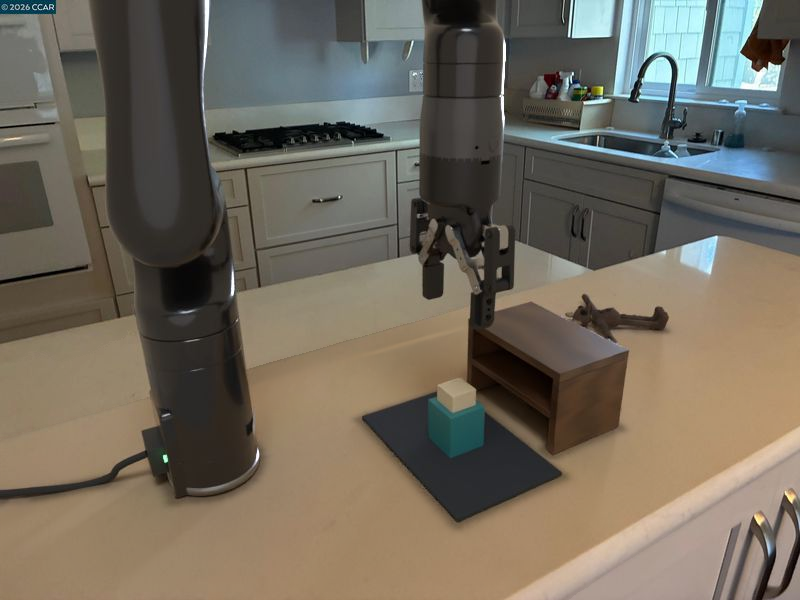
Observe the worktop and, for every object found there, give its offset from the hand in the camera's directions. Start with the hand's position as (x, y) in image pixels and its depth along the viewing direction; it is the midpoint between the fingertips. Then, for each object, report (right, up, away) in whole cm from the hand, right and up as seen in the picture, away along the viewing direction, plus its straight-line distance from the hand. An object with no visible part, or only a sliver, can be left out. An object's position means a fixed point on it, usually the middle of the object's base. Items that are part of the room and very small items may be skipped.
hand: (455, 311), depth 62 cm
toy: (+1, -15, +6) cm, 16 cm away
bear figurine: (+27, -3, +33) cm, 43 cm away
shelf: (+11, -12, +13) cm, 21 cm away
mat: (0, -15, +6) cm, 16 cm away
